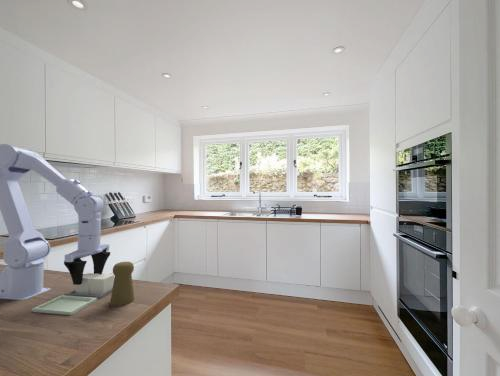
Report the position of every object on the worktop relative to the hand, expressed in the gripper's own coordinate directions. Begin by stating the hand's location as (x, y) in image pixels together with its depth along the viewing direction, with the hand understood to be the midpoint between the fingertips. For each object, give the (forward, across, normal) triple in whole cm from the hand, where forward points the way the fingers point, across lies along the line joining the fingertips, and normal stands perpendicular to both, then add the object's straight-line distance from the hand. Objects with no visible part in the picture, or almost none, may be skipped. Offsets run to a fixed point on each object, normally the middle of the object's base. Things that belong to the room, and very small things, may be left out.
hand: (88, 279), depth 71 cm
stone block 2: (+3, 0, -5) cm, 6 cm away
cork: (+4, -4, -15) cm, 16 cm away
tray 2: (+4, 0, -2) cm, 5 cm away
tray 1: (+4, -10, -2) cm, 11 cm away
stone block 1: (+3, 0, 0) cm, 3 cm away
